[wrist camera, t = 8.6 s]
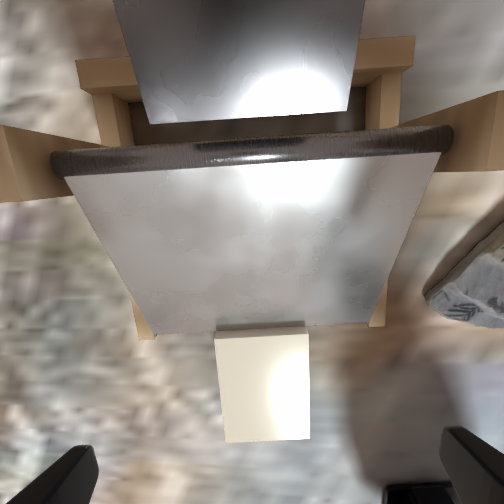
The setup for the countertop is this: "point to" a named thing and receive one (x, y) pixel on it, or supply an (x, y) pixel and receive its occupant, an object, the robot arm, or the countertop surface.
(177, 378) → the countertop surface
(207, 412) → the countertop surface
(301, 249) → the trapdoor
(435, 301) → the fossil rock
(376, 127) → the stand
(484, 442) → the robot arm
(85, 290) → the countertop surface
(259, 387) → the limestone block
